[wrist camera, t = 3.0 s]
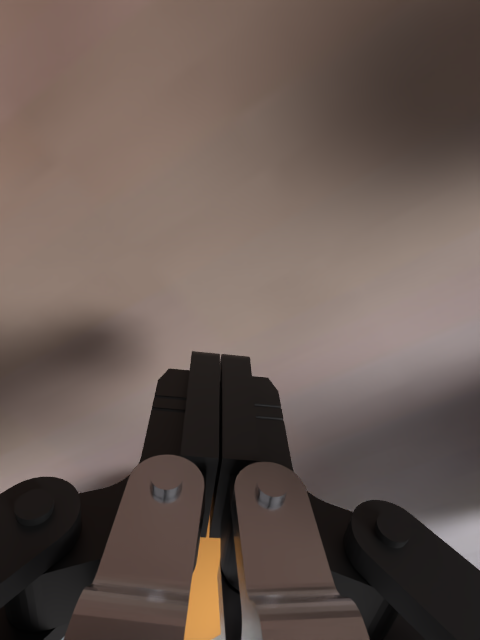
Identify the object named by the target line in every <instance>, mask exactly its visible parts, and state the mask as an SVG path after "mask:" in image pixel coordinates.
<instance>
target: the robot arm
mask: <svg viewBox="0 0 480 640" xmlns="http://www.w3.org/2000/svg"><path fill="white" fill-rule="evenodd" d="M209 516H210V527H209V538H220V562H219V567H218V573H217V582H218V597H219V613H220V629H221V640H480V570H478V569H477V568H476V567H475V566H474V565H472V564H471V563H470V562H469V561H467V560H466V559H465V558H464V557H463V556H461V555H460V554H459V553H458V552H456V551H455V550H454V549H453V548H451V547H450V546H449V545H448V544H447V543H445V542H444V541H443V540H442V539H440V538H439V537H438V536H437V535H436V534H434V533H433V532H432V531H431V530H429V529H428V528H427V527H426V526H425V525H423V524H422V523H421V522H420V521H418V520H417V519H416V518H415V517H414V516H412V515H411V514H410V513H408V512H407V511H406V510H404V509H403V508H401V507H399V506H397V505H395V504H393V503H390V502H386V501H381V500H370V501H366V502H363V503H361V504H360V505H358V506H357V507H356V509H355V510H354V512H351V511H348V510H345V509H342V508H340V507H337V506H334V505H331V504H328V503H326V502H324V501H321V500H320V499H318V498H316V497H314V496H313V495H312V494H310V493H309V492H308V491H307V490H306V488H305V485H304V484H303V482H302V480H301V479H300V478H299V477H298V476H297V475H296V474H295V473H294V472H293V468H292V463H291V457H290V452H289V447H288V441H287V436H286V430H285V425H284V421H283V414H282V409H281V404H280V398H279V393H278V390H277V389H276V388H275V386H274V385H273V384H272V382H271V381H270V380H269V379H268V378H265V377H254V376H252V373H251V364H250V357H246V356H236V355H226V354H222V355H221V360H220V354H215V353H204V352H194V351H192V356H191V364H190V371H189V370H178V369H168V370H167V371H166V373H165V374H164V375H163V376H162V377H161V378H160V379H159V380H158V383H157V387H156V392H155V398H154V401H153V406H152V410H151V415H150V419H149V424H148V428H147V433H146V437H145V442H144V447H143V451H142V456H141V459H140V462H139V464H138V465H137V466H136V467H135V468H134V470H133V471H132V473H131V474H130V475H129V476H128V477H127V478H125V479H124V480H123V481H121V482H119V483H117V484H115V485H112V486H110V487H107V488H103V489H98V490H94V491H89V492H84V493H79V494H78V492H77V490H76V489H75V488H74V486H73V485H71V484H70V483H69V482H67V481H65V480H63V479H59V478H56V477H38V478H33V479H29V480H26V481H23V482H21V483H18V484H16V485H15V486H13V487H11V488H9V489H8V490H6V491H4V492H3V493H1V494H0V640H61V639H62V638H63V637H64V636H65V637H64V639H63V640H184V634H185V627H186V619H187V612H188V604H189V596H190V588H191V581H192V574H193V572H194V570H195V567H196V563H197V556H198V550H199V543H200V537H203V538H206V535H207V529H208V522H209Z"/></svg>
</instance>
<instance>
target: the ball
mask: <svg viewBox="0 0 480 640" xmlns="http://www.w3.org/2000/svg"><path fill="white" fill-rule="evenodd" d="M209 527H210V516H209V522H208V529H207V535H206V538H203V537H200V543H199V550H198V556H197V563H196V567H195V570H194V572H193V574H192V581H191V588H190V596H189V604H188V612H187V619H186V627H185V634H184V640H212V639H214V638H215V637H217V636H219V635H220V634H221V629H220V613H219V597H218V582H217V573H218V567H219V562H220V538H209Z"/></svg>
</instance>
